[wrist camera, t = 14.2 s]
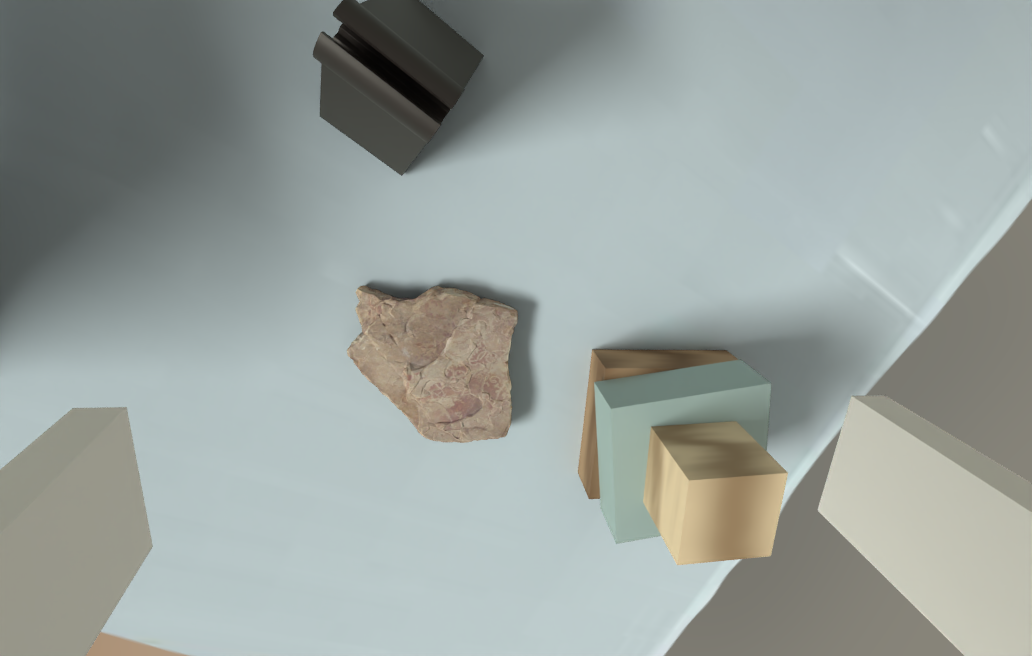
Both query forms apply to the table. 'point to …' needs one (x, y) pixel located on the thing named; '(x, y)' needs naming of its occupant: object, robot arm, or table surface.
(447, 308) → the stone
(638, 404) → the tower top
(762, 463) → the oak block
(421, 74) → the phone stand
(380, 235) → the table surface
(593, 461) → the tower base
